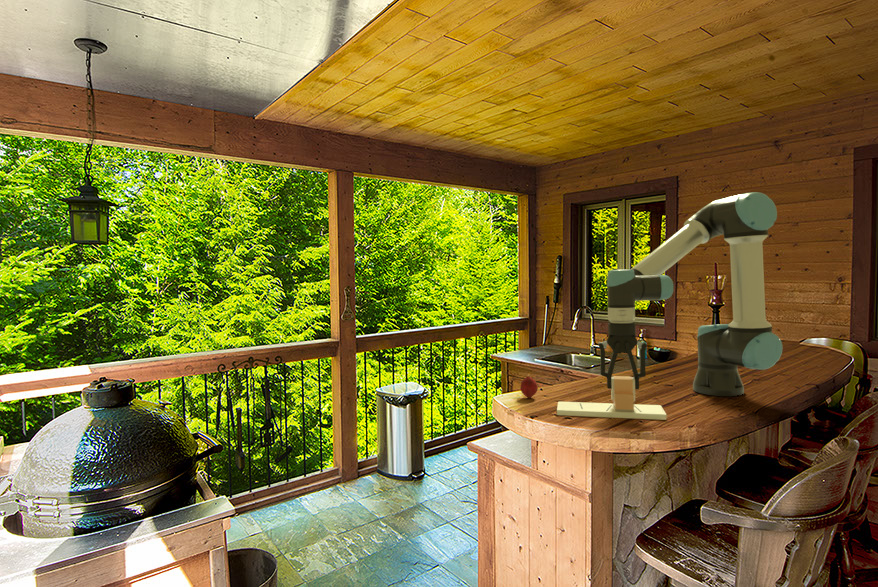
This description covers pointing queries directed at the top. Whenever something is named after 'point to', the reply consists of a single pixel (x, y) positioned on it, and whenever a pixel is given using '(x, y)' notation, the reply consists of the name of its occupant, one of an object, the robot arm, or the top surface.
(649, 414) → the board
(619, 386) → the block
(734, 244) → the robot arm
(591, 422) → the top surface
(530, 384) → the onion
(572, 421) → the top surface
